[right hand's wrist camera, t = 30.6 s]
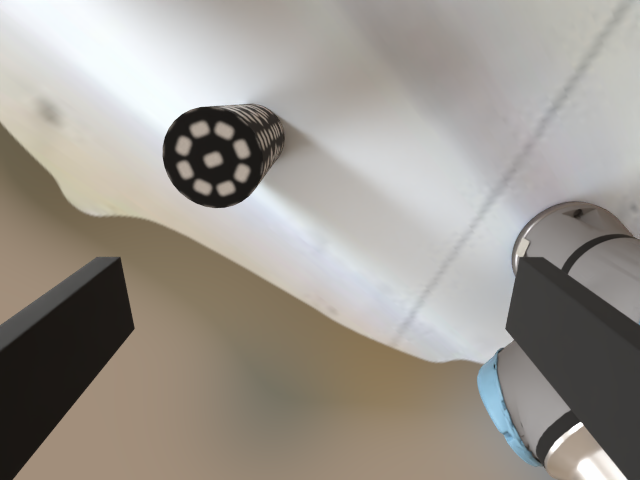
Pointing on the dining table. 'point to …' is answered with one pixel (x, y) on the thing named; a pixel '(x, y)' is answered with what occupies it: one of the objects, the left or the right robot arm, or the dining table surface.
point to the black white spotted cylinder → (222, 152)
